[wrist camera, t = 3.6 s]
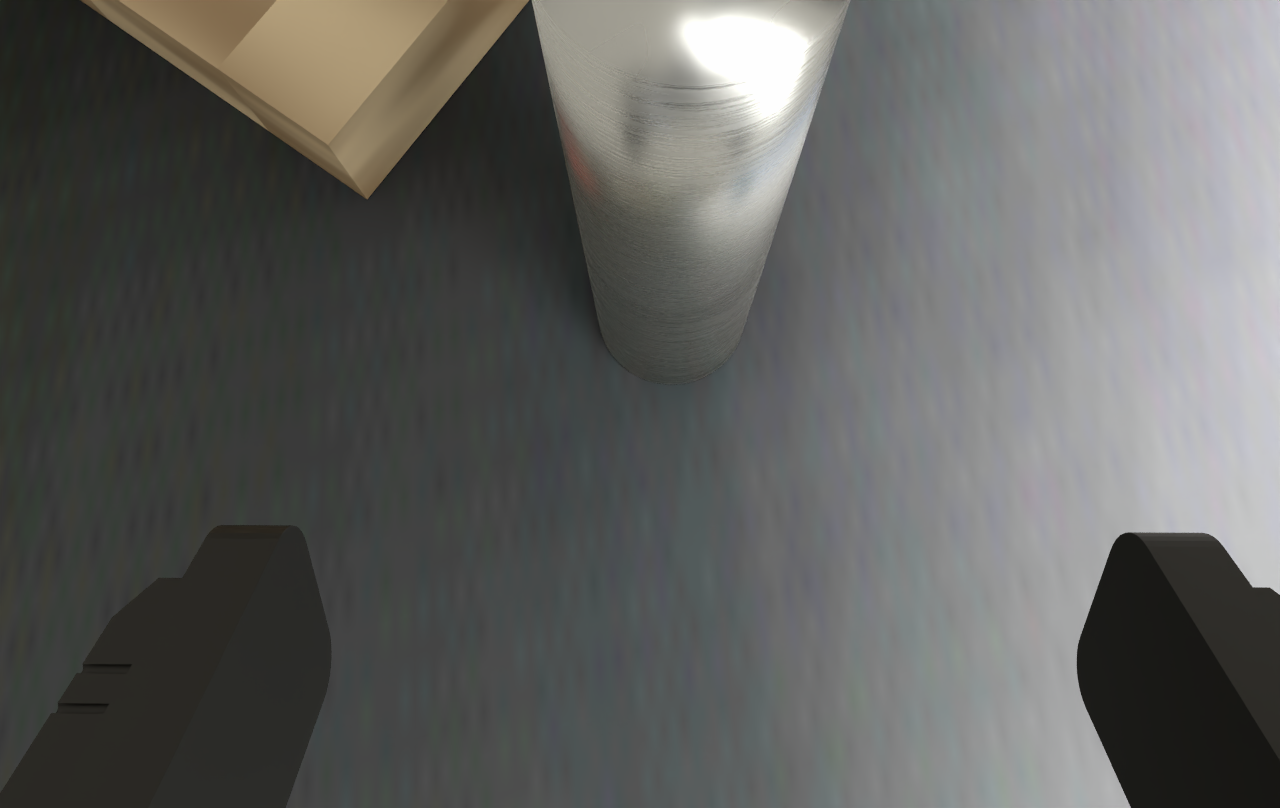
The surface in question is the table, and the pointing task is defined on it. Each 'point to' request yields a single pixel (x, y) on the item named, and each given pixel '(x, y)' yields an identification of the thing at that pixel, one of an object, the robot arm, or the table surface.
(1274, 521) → the table surface
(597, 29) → the pin
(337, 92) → the socket
